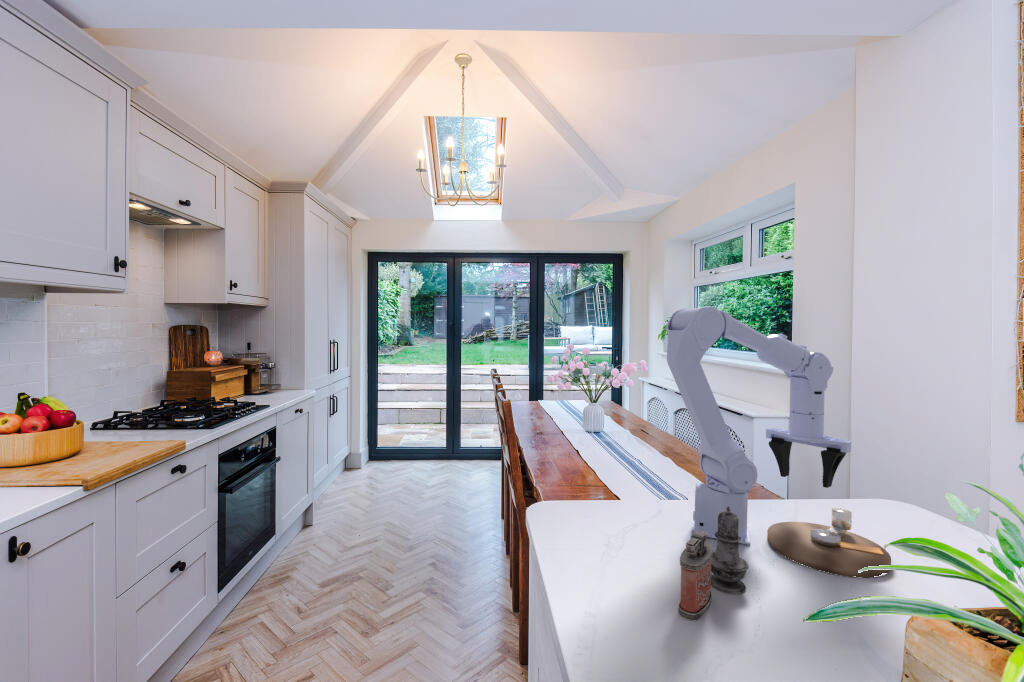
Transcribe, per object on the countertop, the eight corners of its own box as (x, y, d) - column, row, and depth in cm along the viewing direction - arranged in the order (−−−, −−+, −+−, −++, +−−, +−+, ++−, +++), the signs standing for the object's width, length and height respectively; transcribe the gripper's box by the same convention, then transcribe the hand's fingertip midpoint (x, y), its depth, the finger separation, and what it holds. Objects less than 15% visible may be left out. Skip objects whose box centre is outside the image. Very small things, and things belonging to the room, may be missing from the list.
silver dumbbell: (834, 548, 78) (835, 526, 78) (806, 539, 82) (806, 517, 81) (858, 533, 84) (858, 512, 84) (830, 525, 88) (831, 505, 88)
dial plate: (772, 562, 77) (772, 552, 77) (763, 522, 93) (763, 514, 93) (908, 588, 69) (908, 577, 69) (872, 540, 85) (872, 531, 85)
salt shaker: (753, 597, 66) (755, 515, 66) (710, 592, 67) (712, 511, 67) (741, 576, 72) (743, 501, 72) (702, 572, 73) (703, 497, 73)
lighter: (692, 588, 68) (694, 522, 68) (716, 597, 66) (718, 529, 66) (673, 613, 62) (674, 540, 62) (698, 624, 60) (700, 548, 60)
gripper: (858, 416, 86) (856, 487, 86) (777, 405, 98) (776, 468, 98) (843, 419, 82) (841, 494, 82) (761, 408, 94) (760, 474, 94)
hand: (805, 481), depth 90 cm, fingers open, 7 cm apart
